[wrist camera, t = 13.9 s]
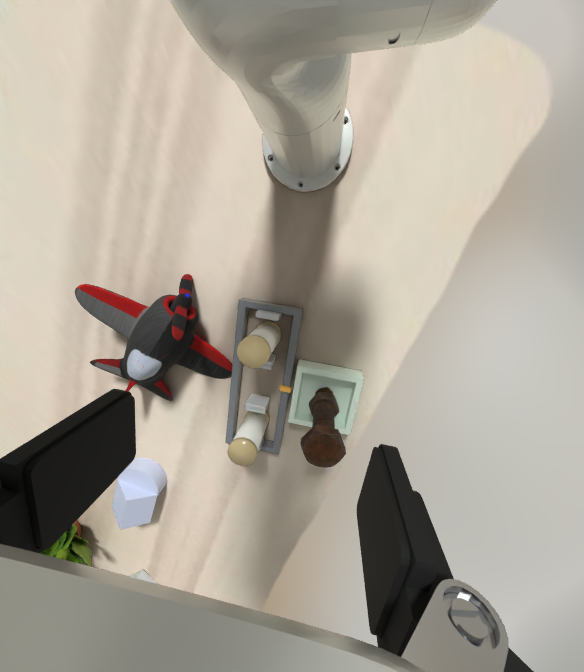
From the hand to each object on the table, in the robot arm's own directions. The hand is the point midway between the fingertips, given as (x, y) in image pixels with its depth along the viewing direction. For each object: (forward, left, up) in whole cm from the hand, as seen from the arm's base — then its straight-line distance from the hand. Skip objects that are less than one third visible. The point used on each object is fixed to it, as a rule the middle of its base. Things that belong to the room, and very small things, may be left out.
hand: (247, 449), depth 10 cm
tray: (+16, +6, -36) cm, 40 cm away
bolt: (+16, +5, -36) cm, 40 cm away
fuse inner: (+7, -6, -36) cm, 37 cm away
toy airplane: (+11, -24, -37) cm, 45 cm away
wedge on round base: (+46, -29, -37) cm, 65 cm away
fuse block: (+16, -6, -36) cm, 40 cm away
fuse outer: (+24, -6, -36) cm, 44 cm away
